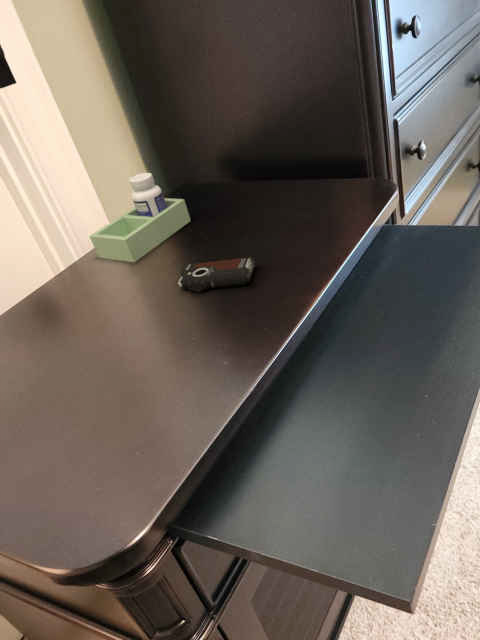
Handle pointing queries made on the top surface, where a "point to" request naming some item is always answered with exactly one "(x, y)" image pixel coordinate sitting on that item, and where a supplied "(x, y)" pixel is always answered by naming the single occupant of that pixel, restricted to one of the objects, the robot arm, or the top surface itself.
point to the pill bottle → (147, 195)
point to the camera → (216, 274)
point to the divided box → (139, 232)
